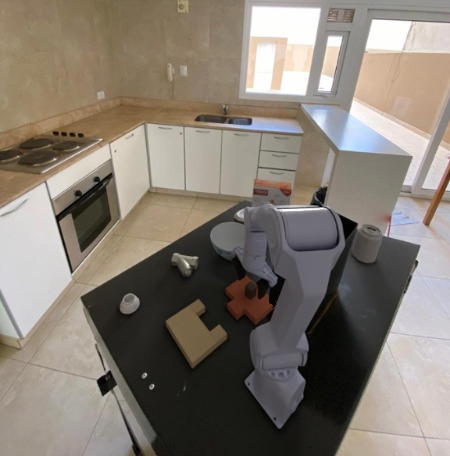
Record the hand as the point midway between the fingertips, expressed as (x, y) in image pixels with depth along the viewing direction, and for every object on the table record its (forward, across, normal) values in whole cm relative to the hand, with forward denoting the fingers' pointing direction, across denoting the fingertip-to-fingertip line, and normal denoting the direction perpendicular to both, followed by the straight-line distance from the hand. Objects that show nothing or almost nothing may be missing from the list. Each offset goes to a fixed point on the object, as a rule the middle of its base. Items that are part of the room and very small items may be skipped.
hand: (251, 287), depth 70 cm
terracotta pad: (+5, 0, +1) cm, 5 cm away
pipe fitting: (+5, +21, +9) cm, 23 cm away
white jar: (+5, +19, +27) cm, 33 cm away
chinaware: (+5, +17, -8) cm, 19 cm away
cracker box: (+5, +18, -28) cm, 34 cm away
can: (+5, -13, -44) cm, 46 cm away
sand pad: (+5, +2, +17) cm, 18 cm away
